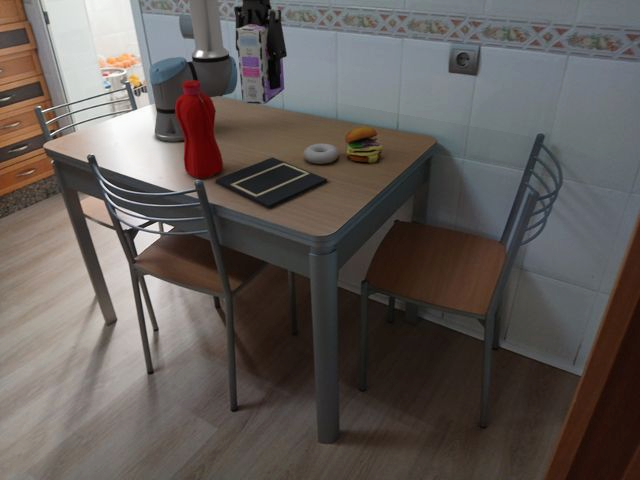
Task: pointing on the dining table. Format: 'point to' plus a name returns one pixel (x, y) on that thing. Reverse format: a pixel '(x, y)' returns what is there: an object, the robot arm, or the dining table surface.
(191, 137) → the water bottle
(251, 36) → the candy box
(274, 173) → the placemat
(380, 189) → the dining table surface
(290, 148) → the dining table surface
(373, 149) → the cheeseburger
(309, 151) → the donut
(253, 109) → the dining table surface
